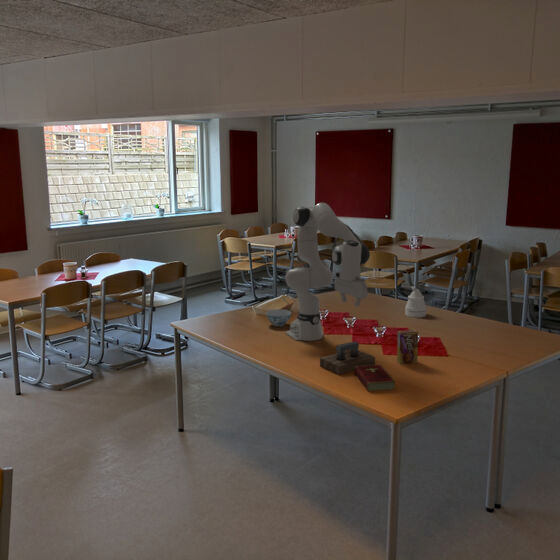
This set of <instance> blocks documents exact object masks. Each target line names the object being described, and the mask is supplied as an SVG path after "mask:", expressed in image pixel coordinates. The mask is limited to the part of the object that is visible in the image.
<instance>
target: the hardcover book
mask: <svg viewBox="0 0 560 560" xmlns="http://www.w3.org/2000/svg"><path fill="white" fill-rule="evenodd" d="M354 374H355V375H356V377H357V378H358V379H359V381H360V382H361V384H362V385H363V387H364V388H365V389H366V390H367V392H370V391H372V392H373V391H383V390H387V391H388V390H394V389H395V383H396V380H395V379H394V378H393V377H392V376H391V374H389V372H388V371H387V370H386V369H385V368H384V367H383V365H382V364H375V365H366V366H355V370H354Z"/></svg>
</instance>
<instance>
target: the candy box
mask: <svg viewBox="0 0 560 560" xmlns="http://www.w3.org/2000/svg"><path fill="white" fill-rule="evenodd" d="M418 338H419V331H417V330H416V329H414V330H398V331H397V342H396V343H397V351H396V353H397V355H396V356H397V357H396V361H397V363H398V364H399V365H406V364H418V347H419V346H418V343H419V339H418Z"/></svg>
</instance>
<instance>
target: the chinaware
mask: <svg viewBox="0 0 560 560" xmlns="http://www.w3.org/2000/svg"><path fill="white" fill-rule="evenodd" d="M265 314H266V318H267V319H268V321H269V322H270V323H271V324H272V325H273V327H277V326H280V327H284V326H285V324H287V322H289V320H290V318H291V316H292V311H290V310H288V309H272V310H268V311H266V312H265Z"/></svg>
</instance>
